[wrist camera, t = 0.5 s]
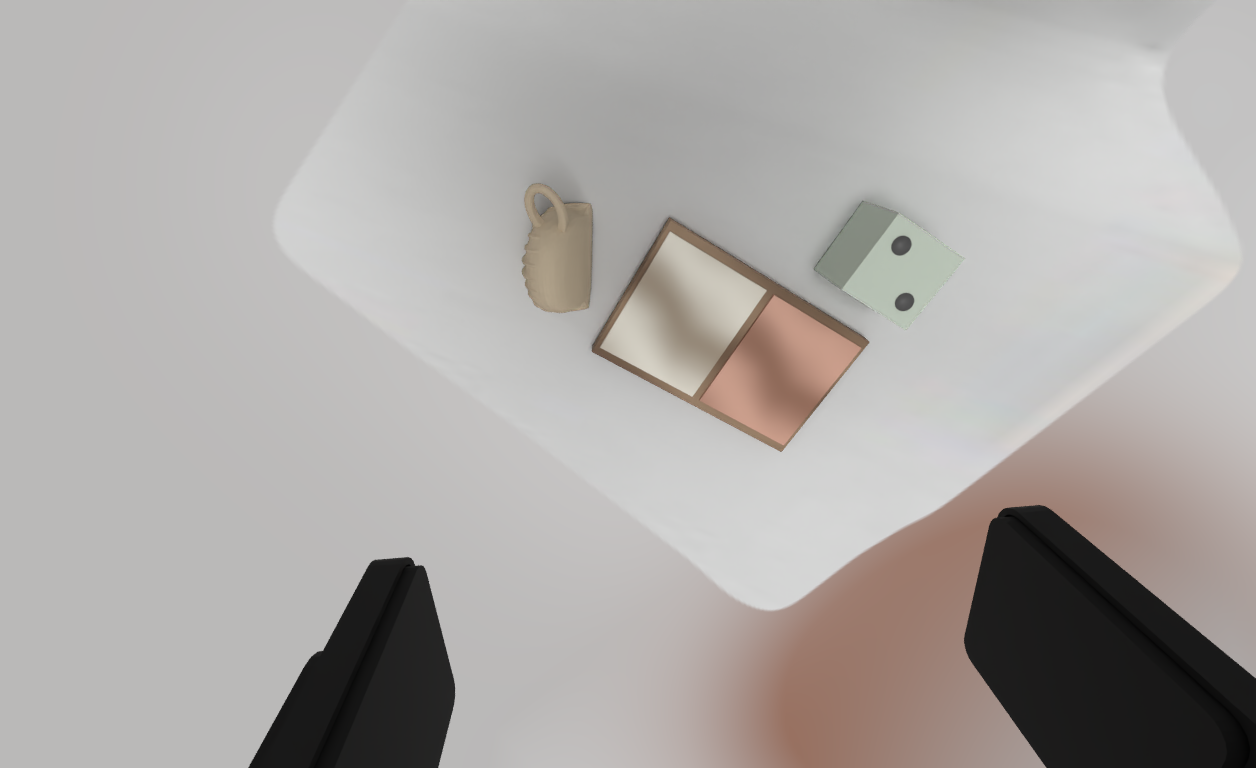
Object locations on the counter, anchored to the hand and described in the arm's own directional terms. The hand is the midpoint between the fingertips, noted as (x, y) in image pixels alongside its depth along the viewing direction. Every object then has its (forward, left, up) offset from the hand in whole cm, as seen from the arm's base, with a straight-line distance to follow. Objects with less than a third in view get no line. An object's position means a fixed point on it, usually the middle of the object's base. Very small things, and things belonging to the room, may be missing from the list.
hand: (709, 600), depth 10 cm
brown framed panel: (+3, +9, -30) cm, 32 cm away
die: (-7, +14, -30) cm, 34 cm away
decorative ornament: (+3, -4, -30) cm, 31 cm away
